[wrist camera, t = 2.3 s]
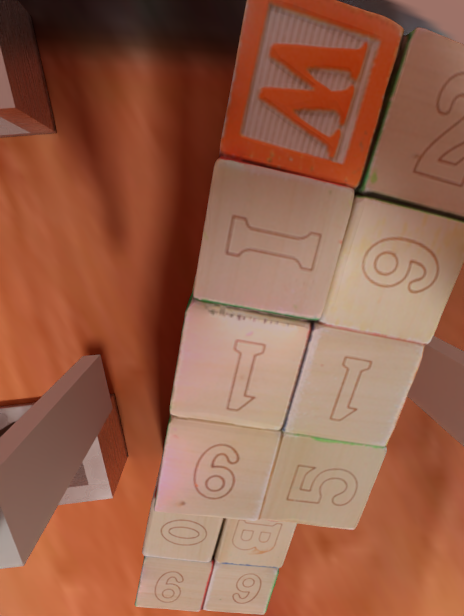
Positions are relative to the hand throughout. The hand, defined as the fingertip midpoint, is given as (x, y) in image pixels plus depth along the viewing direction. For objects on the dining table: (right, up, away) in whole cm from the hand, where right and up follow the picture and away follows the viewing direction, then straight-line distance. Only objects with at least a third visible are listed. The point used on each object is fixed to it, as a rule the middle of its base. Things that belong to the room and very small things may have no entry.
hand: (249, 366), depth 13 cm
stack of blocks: (-1, +1, +7) cm, 7 cm away
